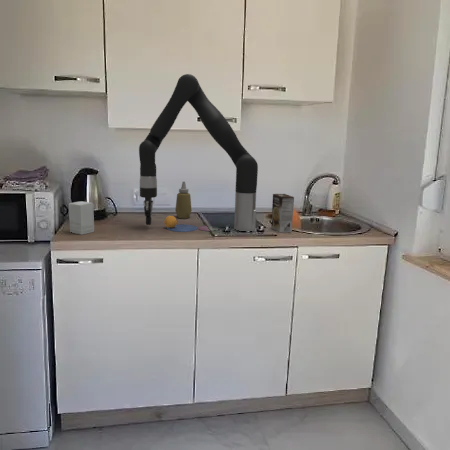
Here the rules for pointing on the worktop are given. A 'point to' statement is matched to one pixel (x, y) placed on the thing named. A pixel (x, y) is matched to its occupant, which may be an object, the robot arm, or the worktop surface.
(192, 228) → the disc
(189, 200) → the squeeze bottle
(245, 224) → the robot arm
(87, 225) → the supplement box
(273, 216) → the coffee box
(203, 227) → the disc
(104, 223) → the worktop surface
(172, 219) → the ball
